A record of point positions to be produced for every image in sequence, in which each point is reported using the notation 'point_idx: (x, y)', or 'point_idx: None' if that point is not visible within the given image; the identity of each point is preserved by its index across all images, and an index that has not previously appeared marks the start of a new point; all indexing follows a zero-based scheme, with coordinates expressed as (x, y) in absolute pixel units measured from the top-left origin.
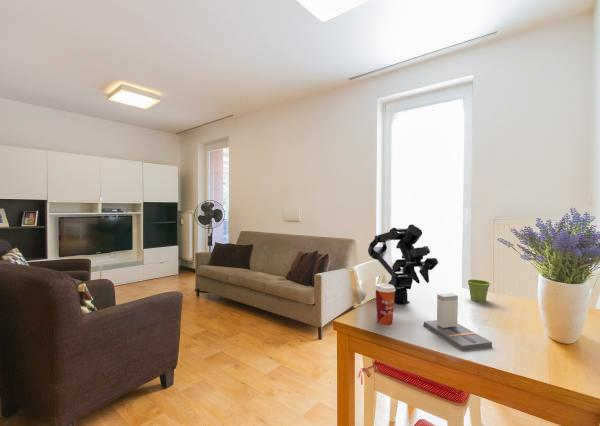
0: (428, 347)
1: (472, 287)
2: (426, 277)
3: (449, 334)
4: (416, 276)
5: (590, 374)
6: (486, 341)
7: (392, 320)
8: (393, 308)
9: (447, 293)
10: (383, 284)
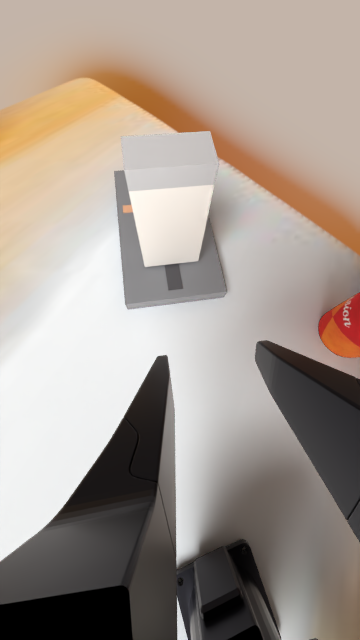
0: (261, 192)
1: None
2: (169, 387)
3: None
4: (313, 364)
5: (27, 102)
6: (124, 174)
7: (326, 315)
8: (358, 299)
9: (152, 168)
10: None
